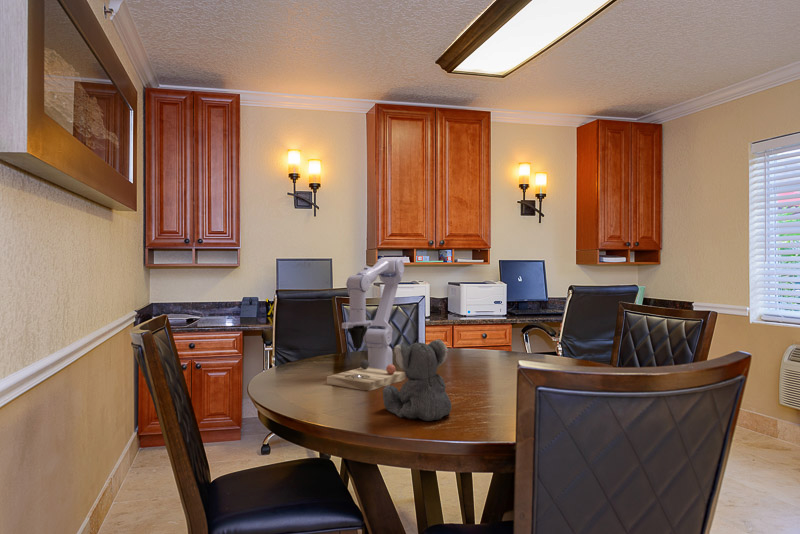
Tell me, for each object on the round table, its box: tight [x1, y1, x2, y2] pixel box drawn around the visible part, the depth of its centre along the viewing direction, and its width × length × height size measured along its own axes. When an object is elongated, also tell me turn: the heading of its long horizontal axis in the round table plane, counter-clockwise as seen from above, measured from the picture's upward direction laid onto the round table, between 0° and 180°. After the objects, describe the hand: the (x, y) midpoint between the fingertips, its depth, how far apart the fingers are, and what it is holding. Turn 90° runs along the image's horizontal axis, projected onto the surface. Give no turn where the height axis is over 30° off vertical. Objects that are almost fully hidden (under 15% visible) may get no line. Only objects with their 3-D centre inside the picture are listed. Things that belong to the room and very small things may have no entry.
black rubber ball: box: [359, 359, 369, 369], centre depth 185 cm, size 3×3×3 cm
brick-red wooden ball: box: [386, 363, 397, 374], centre depth 176 cm, size 3×3×3 cm
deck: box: [326, 367, 406, 392], centre depth 176 cm, size 20×18×2 cm
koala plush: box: [382, 338, 452, 422], centre depth 137 cm, size 17×18×20 cm
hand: (357, 347), depth 183 cm, fingers closed
